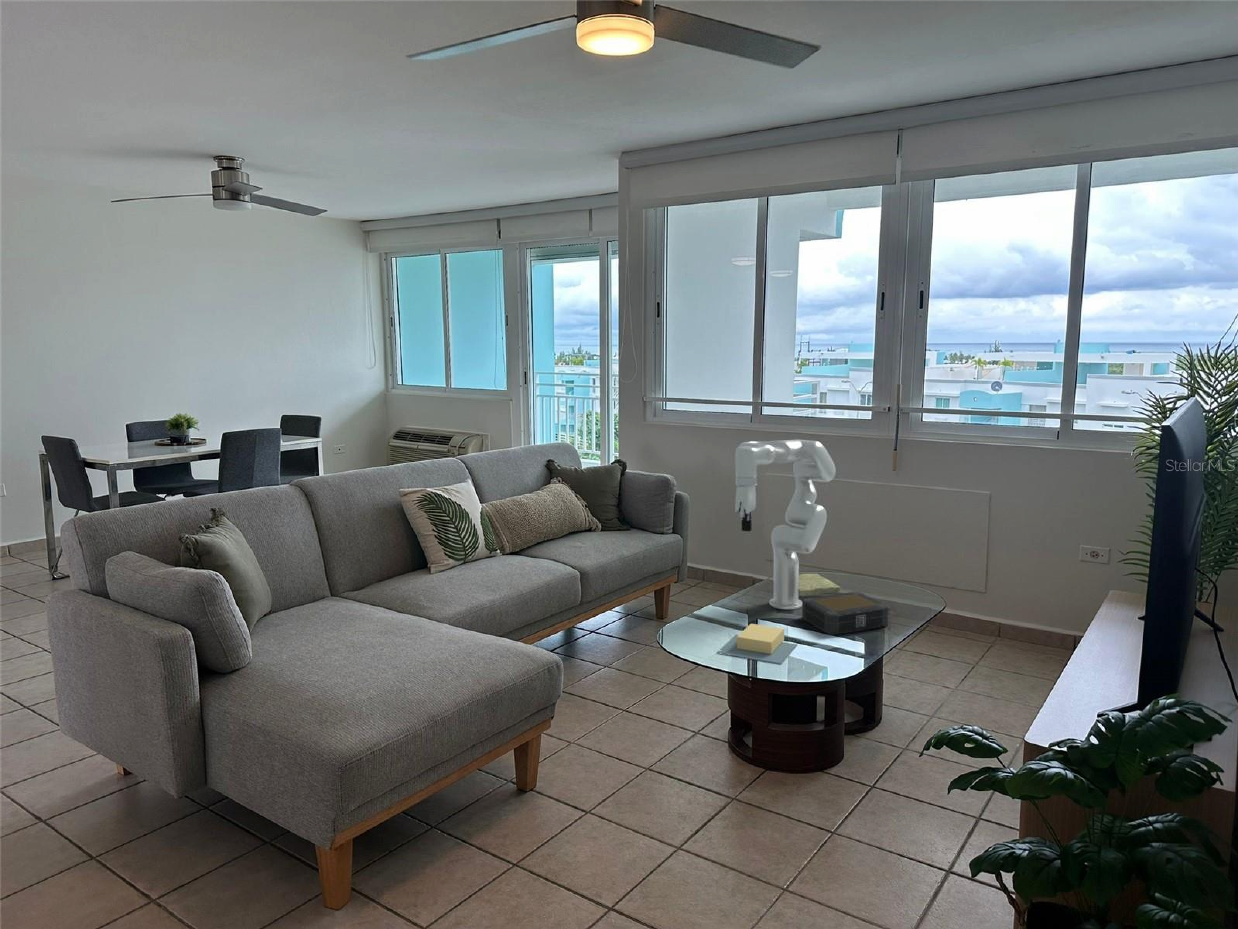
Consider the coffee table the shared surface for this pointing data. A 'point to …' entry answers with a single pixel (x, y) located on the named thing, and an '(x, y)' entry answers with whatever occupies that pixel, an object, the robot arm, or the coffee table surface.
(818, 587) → the decorative tile
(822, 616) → the cash box
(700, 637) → the coffee table surface
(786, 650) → the mat
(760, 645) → the pale yellow block
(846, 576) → the coffee table surface
